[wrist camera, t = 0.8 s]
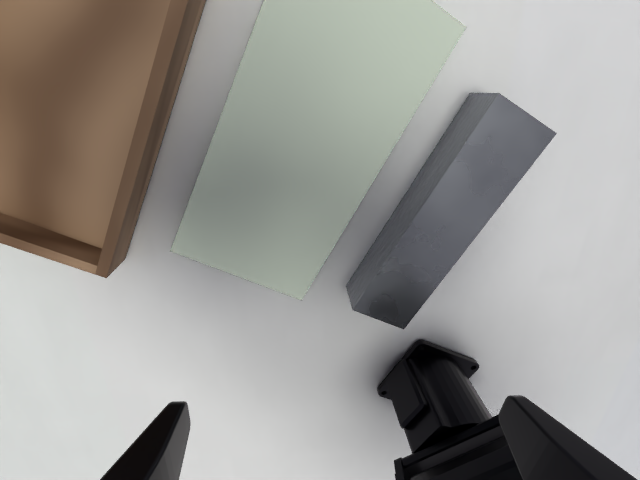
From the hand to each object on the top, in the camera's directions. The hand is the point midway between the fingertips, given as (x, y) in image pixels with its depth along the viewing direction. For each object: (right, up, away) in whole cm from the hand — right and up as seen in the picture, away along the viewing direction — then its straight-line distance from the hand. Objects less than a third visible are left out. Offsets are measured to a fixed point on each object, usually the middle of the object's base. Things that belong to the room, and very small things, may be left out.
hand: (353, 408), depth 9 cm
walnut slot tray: (-13, +12, +7) cm, 19 cm away
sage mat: (-2, +10, +9) cm, 13 cm away
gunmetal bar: (+6, +6, +12) cm, 15 cm away
